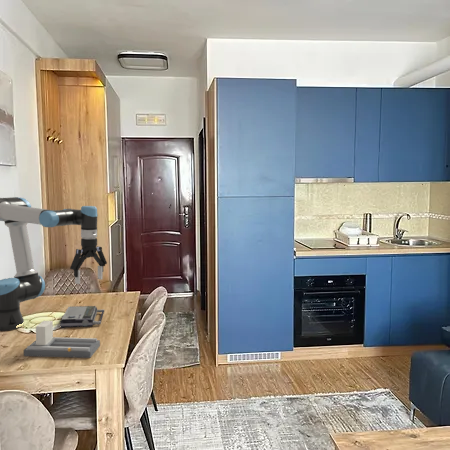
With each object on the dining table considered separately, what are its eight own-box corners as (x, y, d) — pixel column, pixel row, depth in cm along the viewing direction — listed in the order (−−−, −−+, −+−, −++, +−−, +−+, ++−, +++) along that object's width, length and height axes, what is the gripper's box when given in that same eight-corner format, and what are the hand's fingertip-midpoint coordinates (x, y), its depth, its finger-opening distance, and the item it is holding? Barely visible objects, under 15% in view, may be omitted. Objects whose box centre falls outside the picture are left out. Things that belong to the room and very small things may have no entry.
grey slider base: (23, 356, 190) (23, 347, 189) (37, 344, 204) (37, 336, 203) (90, 357, 190) (90, 349, 189) (99, 345, 204) (99, 337, 203)
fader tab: (33, 347, 193) (33, 326, 192) (41, 340, 200) (41, 320, 200) (47, 347, 192) (47, 326, 192) (55, 340, 200) (54, 321, 200)
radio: (66, 305, 249) (104, 304, 253) (67, 314, 250) (104, 313, 253) (59, 318, 225) (100, 317, 229) (59, 329, 226) (100, 327, 229)
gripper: (72, 241, 207) (72, 287, 209) (114, 236, 227) (113, 278, 229) (62, 239, 211) (62, 284, 213) (103, 235, 231) (103, 276, 234)
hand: (89, 281), depth 221 cm, fingers open, 13 cm apart
